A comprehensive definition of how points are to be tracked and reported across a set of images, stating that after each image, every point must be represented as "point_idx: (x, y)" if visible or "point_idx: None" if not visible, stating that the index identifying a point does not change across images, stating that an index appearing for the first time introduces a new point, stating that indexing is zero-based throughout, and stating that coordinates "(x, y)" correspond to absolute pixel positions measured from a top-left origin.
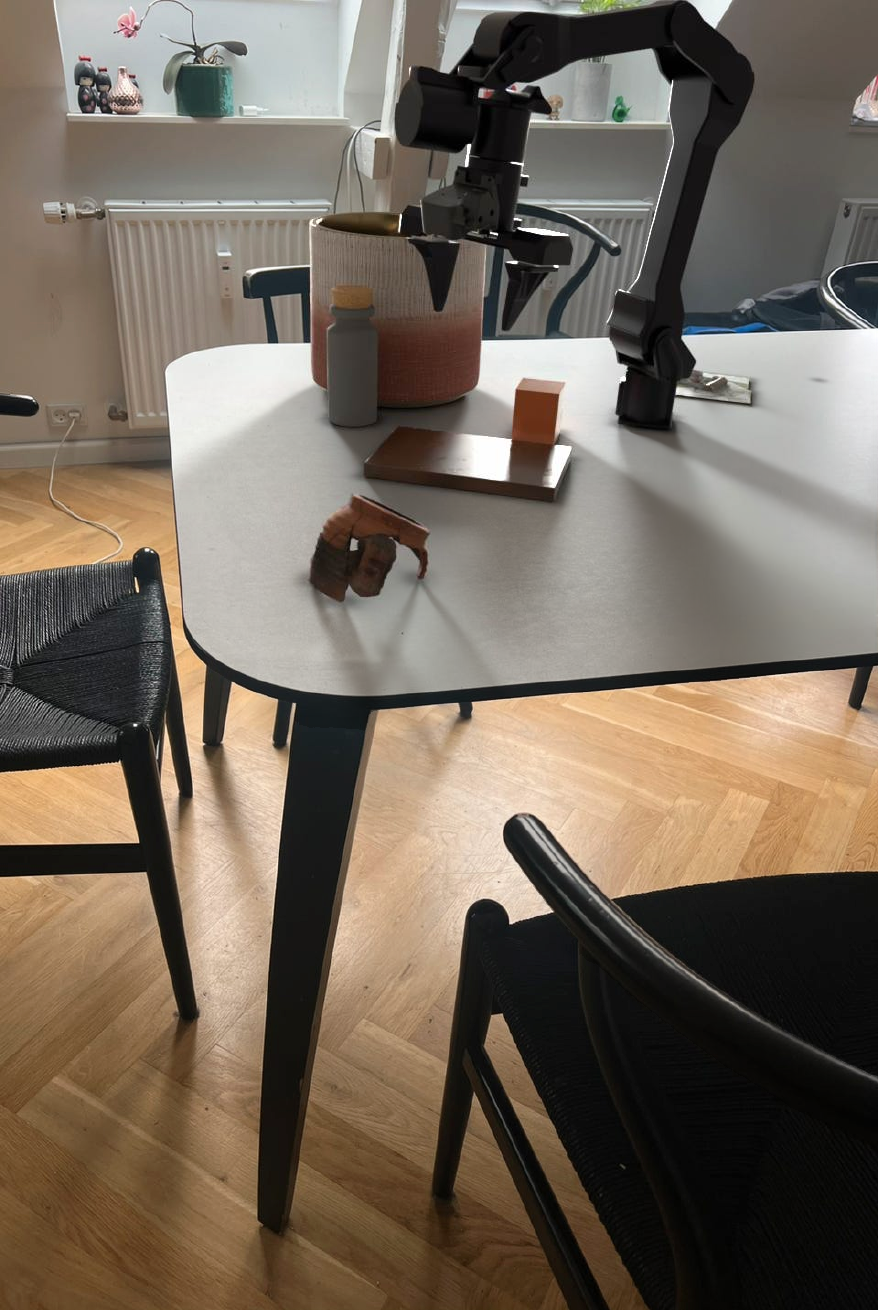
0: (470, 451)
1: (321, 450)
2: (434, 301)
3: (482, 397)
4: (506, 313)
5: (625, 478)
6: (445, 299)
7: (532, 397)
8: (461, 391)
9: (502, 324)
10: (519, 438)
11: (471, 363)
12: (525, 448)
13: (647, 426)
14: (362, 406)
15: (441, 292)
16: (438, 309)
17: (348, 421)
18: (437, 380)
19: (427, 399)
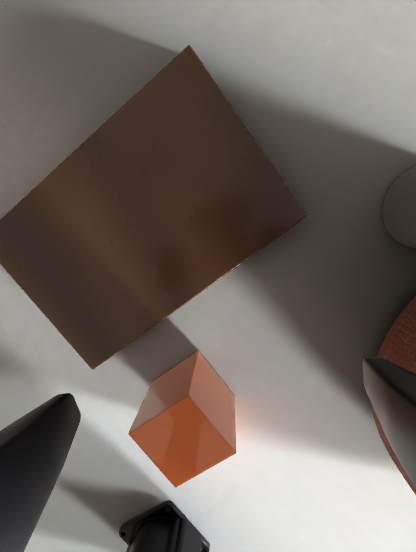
0: (145, 236)
1: (332, 65)
2: (393, 371)
3: (373, 447)
4: (7, 431)
5: (22, 368)
6: (386, 430)
7: (166, 404)
8: (374, 411)
9: (55, 403)
10: (189, 358)
11: (403, 468)
12: (117, 313)
13: (139, 517)
14: (403, 196)
15: (405, 429)
16: (367, 370)
17: (403, 175)
18: None
19: (384, 344)
